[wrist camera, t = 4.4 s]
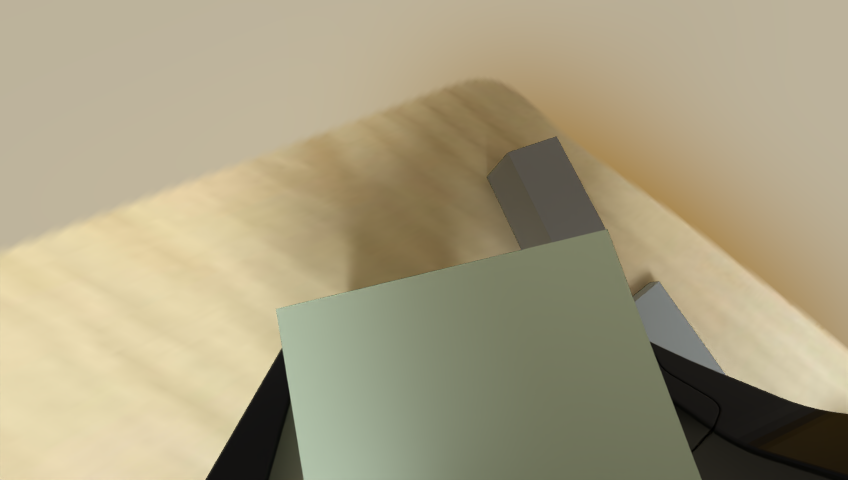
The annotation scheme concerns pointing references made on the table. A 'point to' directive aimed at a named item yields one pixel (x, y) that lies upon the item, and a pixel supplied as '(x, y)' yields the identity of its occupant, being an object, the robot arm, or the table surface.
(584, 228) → the charcoal brick
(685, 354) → the slate mat
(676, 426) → the sage brick
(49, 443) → the table surface
